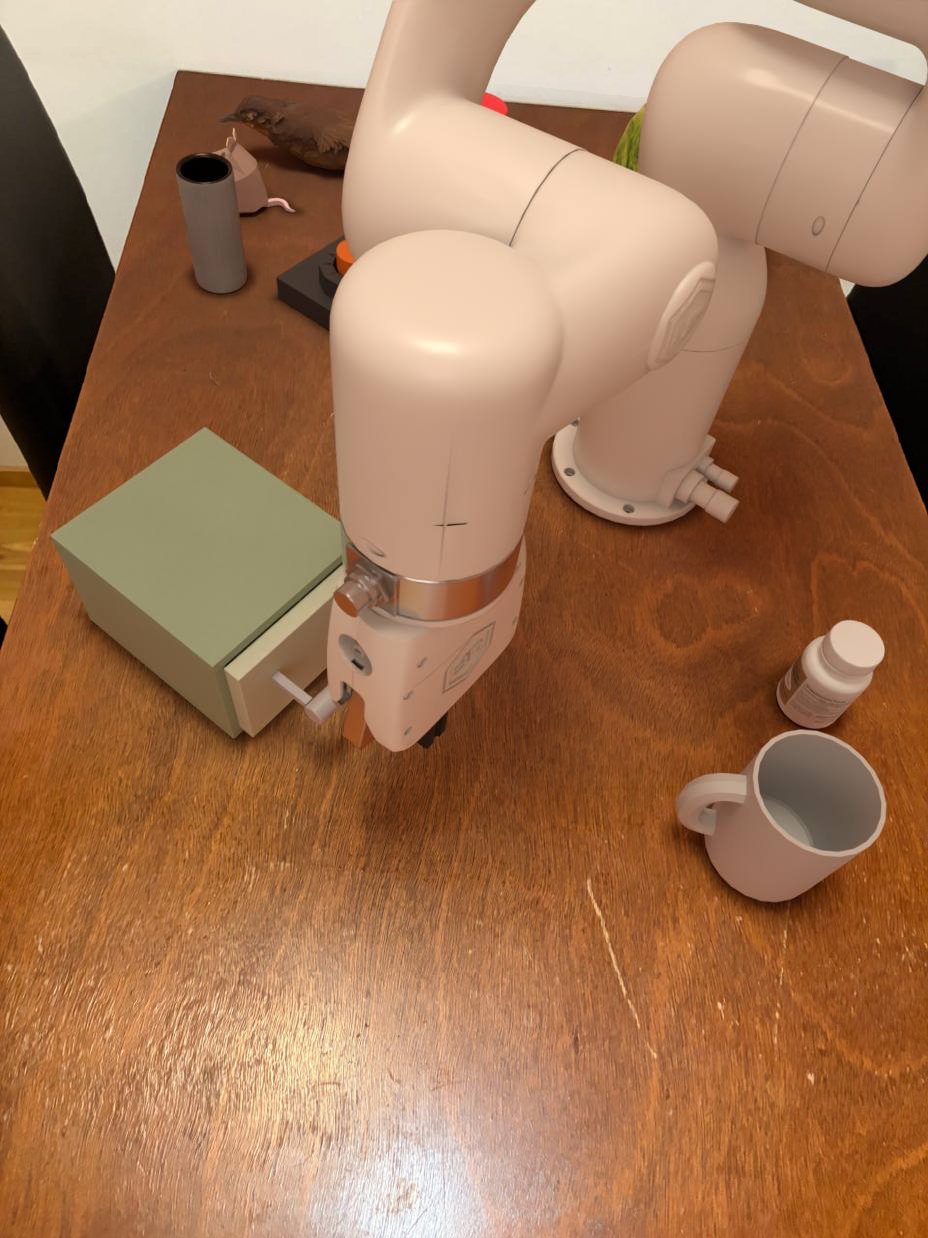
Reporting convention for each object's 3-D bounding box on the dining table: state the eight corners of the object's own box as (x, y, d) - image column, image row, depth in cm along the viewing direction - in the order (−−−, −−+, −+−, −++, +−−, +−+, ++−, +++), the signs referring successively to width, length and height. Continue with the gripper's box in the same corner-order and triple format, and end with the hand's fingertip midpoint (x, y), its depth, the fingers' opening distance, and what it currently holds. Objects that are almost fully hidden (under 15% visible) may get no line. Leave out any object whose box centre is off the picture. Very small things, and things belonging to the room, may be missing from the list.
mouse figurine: (287, 227, 85) (281, 158, 79) (206, 212, 85) (194, 142, 80) (302, 196, 88) (297, 128, 82) (223, 182, 88) (213, 113, 82)
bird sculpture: (459, 211, 93) (471, 165, 89) (212, 157, 87) (213, 106, 83) (457, 177, 97) (468, 131, 93) (220, 123, 91) (221, 72, 87)
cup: (818, 916, 53) (891, 870, 45) (653, 881, 53) (699, 829, 46) (814, 803, 57) (881, 744, 49) (660, 771, 57) (703, 707, 50)
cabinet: (363, 618, 62) (361, 536, 54) (234, 739, 56) (212, 667, 48) (224, 515, 65) (204, 426, 58) (90, 619, 60) (49, 534, 52)
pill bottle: (789, 662, 63) (837, 601, 56) (847, 696, 62) (903, 637, 55) (764, 706, 61) (811, 647, 54) (823, 742, 59) (878, 686, 53)
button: (387, 268, 77) (387, 250, 76) (359, 286, 75) (359, 268, 74) (356, 250, 78) (355, 232, 77) (328, 268, 76) (327, 249, 75)
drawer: (417, 662, 59) (423, 600, 53) (302, 779, 54) (294, 725, 48) (238, 529, 64) (224, 458, 58) (117, 625, 59) (87, 559, 52)
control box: (437, 307, 80) (440, 269, 77) (371, 356, 76) (371, 317, 73) (346, 254, 83) (345, 214, 80) (278, 298, 79) (274, 258, 76)
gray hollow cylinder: (186, 284, 79) (163, 172, 71) (212, 256, 82) (194, 145, 73) (231, 299, 79) (214, 189, 70) (256, 271, 81) (243, 161, 72)
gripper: (377, 708, 33) (377, 861, 48) (604, 481, 39) (541, 679, 55) (234, 594, 35) (278, 776, 50) (473, 398, 42) (447, 611, 57)
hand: (415, 725), depth 52 cm, fingers closed
